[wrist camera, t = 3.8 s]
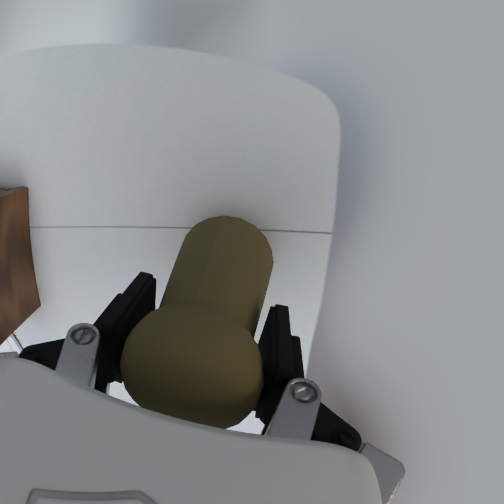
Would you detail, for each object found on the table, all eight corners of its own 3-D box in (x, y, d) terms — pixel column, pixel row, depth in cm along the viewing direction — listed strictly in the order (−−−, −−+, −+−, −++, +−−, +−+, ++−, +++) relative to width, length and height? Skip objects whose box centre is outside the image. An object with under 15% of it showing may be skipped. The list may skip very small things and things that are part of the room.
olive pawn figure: (255, 311, 19) (244, 459, 9) (173, 285, 18) (103, 416, 8) (287, 234, 16) (311, 380, 6) (191, 203, 16) (87, 310, 6)
